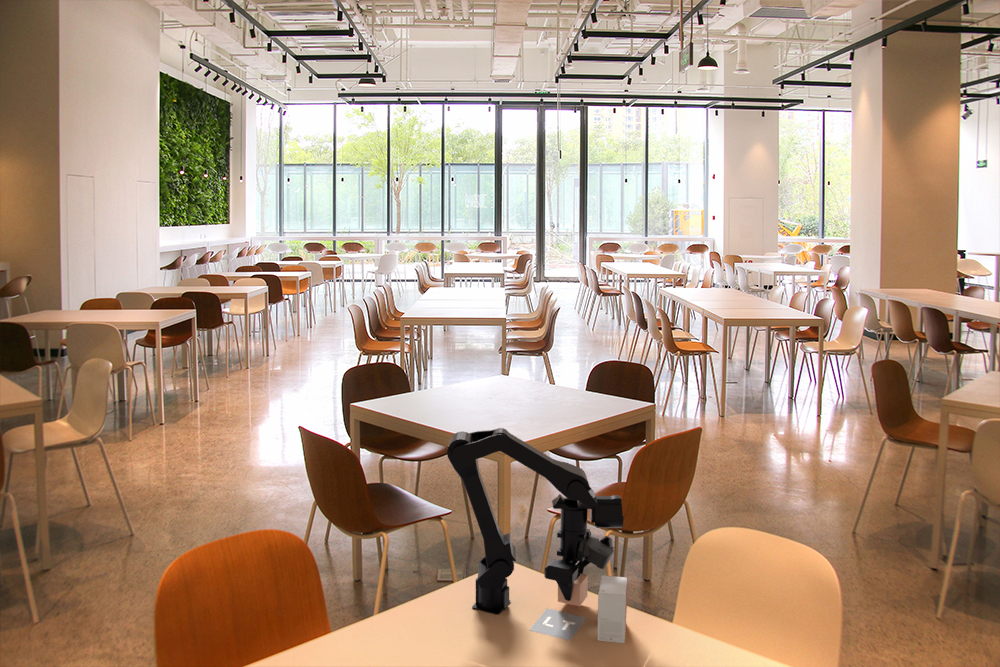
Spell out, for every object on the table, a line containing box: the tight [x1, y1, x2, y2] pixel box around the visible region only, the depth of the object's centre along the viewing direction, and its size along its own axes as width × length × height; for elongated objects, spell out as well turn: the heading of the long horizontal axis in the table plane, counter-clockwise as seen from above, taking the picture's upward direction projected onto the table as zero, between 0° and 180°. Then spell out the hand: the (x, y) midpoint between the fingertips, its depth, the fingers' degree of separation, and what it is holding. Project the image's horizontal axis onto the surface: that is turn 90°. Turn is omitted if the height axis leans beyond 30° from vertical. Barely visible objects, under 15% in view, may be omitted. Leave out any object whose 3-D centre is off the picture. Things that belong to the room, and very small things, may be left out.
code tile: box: [529, 607, 587, 642], centre depth 161 cm, size 9×10×1 cm
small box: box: [596, 574, 629, 644], centre depth 157 cm, size 8×6×10 cm
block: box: [557, 573, 589, 607], centre depth 168 cm, size 5×5×5 cm
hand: (572, 594), depth 168 cm, fingers closed on block, 5 cm apart
